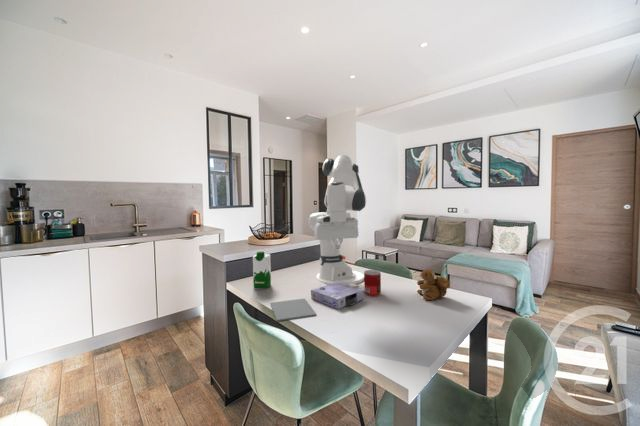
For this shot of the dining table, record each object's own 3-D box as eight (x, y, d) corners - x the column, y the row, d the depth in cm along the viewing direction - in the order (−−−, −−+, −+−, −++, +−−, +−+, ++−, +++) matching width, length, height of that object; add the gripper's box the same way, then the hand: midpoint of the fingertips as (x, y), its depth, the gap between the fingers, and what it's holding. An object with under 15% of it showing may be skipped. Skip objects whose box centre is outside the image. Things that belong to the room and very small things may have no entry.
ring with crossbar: (327, 275, 178) (327, 268, 177) (369, 279, 166) (369, 271, 166) (308, 287, 152) (308, 279, 152) (356, 293, 141) (356, 284, 140)
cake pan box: (339, 311, 113) (365, 299, 124) (339, 299, 112) (365, 288, 124) (310, 300, 127) (336, 290, 139) (309, 289, 126) (335, 280, 138)
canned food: (380, 296, 128) (380, 274, 128) (364, 295, 130) (363, 273, 129) (380, 291, 136) (380, 270, 135) (364, 290, 137) (364, 269, 137)
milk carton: (251, 291, 140) (250, 253, 139) (257, 285, 149) (256, 250, 148) (268, 291, 139) (267, 253, 138) (272, 286, 148) (272, 250, 147)
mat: (304, 299, 126) (304, 298, 126) (316, 315, 108) (316, 314, 108) (270, 304, 121) (270, 302, 121) (276, 321, 103) (276, 319, 103)
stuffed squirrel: (415, 292, 134) (415, 266, 133) (445, 293, 131) (445, 267, 131) (419, 299, 124) (419, 271, 123) (452, 301, 121) (452, 272, 121)
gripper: (354, 217, 126) (354, 246, 126) (313, 218, 119) (313, 249, 120) (360, 217, 120) (361, 248, 120) (317, 218, 113) (317, 251, 114)
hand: (336, 248), depth 120 cm, fingers closed
